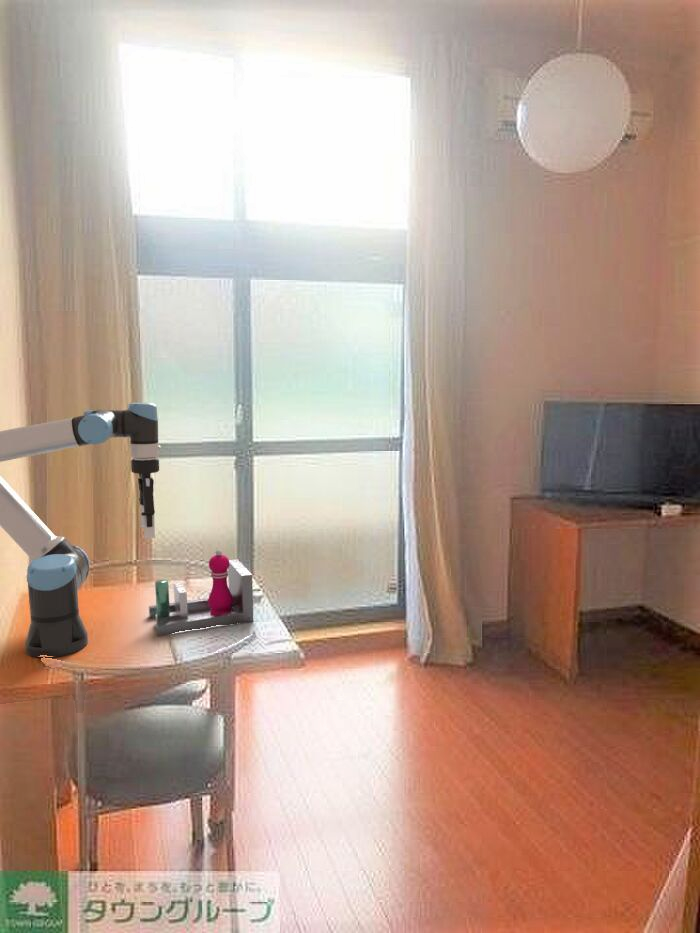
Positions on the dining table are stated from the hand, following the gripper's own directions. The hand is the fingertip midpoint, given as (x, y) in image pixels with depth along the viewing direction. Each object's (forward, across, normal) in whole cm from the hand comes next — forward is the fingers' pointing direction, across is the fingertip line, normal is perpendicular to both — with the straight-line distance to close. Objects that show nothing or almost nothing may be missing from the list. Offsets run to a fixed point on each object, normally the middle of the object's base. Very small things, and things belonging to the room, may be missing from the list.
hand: (147, 532), depth 191 cm
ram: (+26, -4, -5) cm, 27 cm away
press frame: (+26, -3, -13) cm, 30 cm away
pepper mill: (+26, -3, -20) cm, 33 cm away
